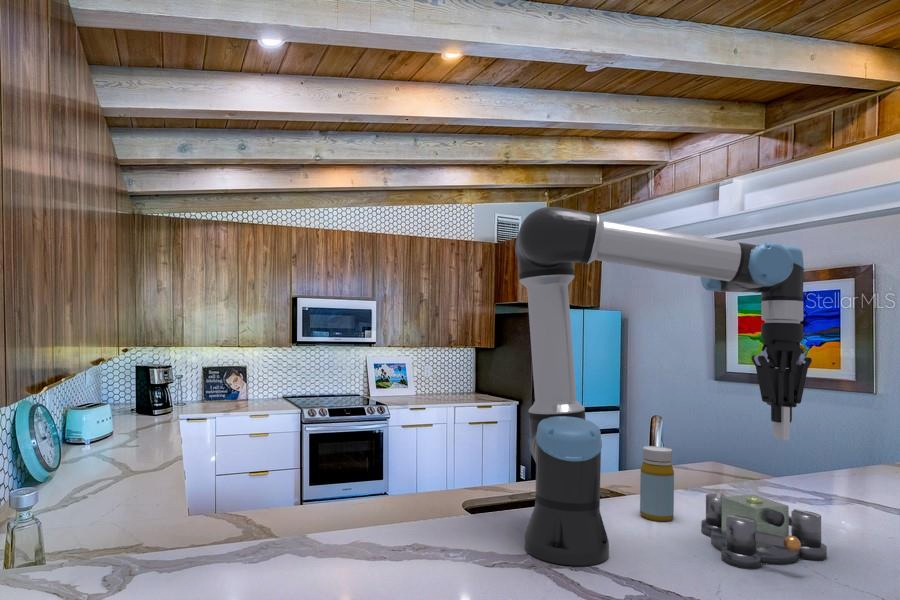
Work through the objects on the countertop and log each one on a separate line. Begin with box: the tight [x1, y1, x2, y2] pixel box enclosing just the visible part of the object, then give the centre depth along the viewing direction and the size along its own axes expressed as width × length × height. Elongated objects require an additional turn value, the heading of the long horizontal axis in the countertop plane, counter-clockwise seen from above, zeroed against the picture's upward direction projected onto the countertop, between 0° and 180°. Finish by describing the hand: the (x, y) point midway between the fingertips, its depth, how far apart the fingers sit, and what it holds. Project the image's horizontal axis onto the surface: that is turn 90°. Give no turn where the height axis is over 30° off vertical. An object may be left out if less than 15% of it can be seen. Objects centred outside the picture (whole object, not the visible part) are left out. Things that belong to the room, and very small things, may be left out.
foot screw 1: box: [705, 492, 726, 526], centre depth 124 cm, size 12×5×6 cm, turn 154°
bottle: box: [639, 445, 675, 523], centre depth 131 cm, size 7×7×15 cm
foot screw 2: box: [726, 515, 801, 554], centre depth 103 cm, size 12×5×6 cm, turn 49°
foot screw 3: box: [789, 508, 822, 547], centre depth 113 cm, size 12×5×6 cm, turn 27°
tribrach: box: [700, 493, 828, 570], centre depth 114 cm, size 22×20×10 cm
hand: (781, 438), depth 119 cm, fingers closed
